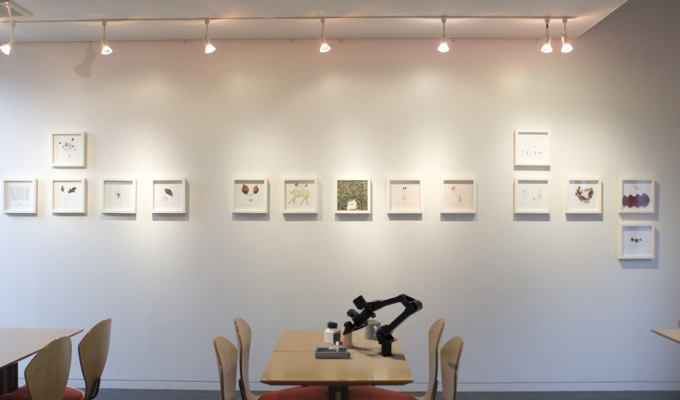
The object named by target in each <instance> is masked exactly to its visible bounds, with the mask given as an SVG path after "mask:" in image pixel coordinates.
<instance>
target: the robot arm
mask: <svg viewBox="0 0 680 400" xmlns="http://www.w3.org/2000/svg"><path fill="white" fill-rule="evenodd" d="M352 303H353V305H354V307H356V309H357V310H358V311H360V312H358V311H357V310H356V309H355V308H351V309H348V310H347V311H346V316H348V317H349V318H351V321H350V320H348V321H345V322H344V324H343V323H342V324H343V325H344V326H345V330H344V332H343V335H346V334H349V333H352V334H353V333H354V332H356V331H360V330H361V329H365V327H366V326H367V325H368V320H370V318H371V319H374V318H377V314H376V312H377V311H379V310H382V309H383V308H384V307H387V306H390V305H391V306H392V305H394V304H397V303H400V304H401V305H403V307H404V310H403V311H402V312H401V313H400V314H399V315H397V317H395V318H394V319H393V320H392V321H391V322H390V323H389V324H384V325H381V327H380V329H378V330H377V332H376V337H377V339H378V340H377V342H378V345H380V351H379V352H378V354H379V355H381V356H382V357H385V358H386V357H393V356H395V354H394V353H393V349H392V348H393V347H392V346H393V343H394V342H395V337H394V336H393V333H394V331H395V330H397V328H398V327H400V326H401V325H402V324H403V323H404V322H405V321H406V320H407V319H409V318H410V317H411V316H412V315H414V314H417V313H419V312H420V311H422V310H423V303H422V301H421V300H420V299H416V298H414V297H413V296H412V297H411V296H409V295H408V294H406V293H401V294H398V295H395V296H392V297H388V298H385V299H375V300H374V299H373V300H371V301H367V300H366V299H365V297H364V296H363V295H362V294H359V296H357V297H356V298H354V299H353V300H352Z"/></svg>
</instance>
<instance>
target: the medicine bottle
mask: <svg viewBox="0 0 680 400" xmlns="http://www.w3.org/2000/svg"><path fill="white" fill-rule="evenodd" d="M326 326H327V329H325V330H324V332H323V333H324V335H323V336H324V338H323V340H324V341H323V342H324V344H325V343H327V344H330V345H336V342H338V343H341V342H342V341H341V339H342V337H341V335H342V334H341V331H342V330H341V329H338V327H339V326H338V322H337V321H333V320H332V321H328V322H327V324H326Z"/></svg>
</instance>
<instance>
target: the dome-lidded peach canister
mask: <svg viewBox="0 0 680 400" xmlns="http://www.w3.org/2000/svg"><path fill="white" fill-rule="evenodd" d="M344 323H345V322H344ZM344 323H342V325H341V326H342V330H341V331H342V334H341V335H342V337H341V339H342V341H341V342H342V346H341V347H347V349H351V348H353V332H352V333H349V334H346V335H343V332H344V330H345V326H344V325H343V324H344Z"/></svg>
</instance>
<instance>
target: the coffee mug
mask: <svg viewBox="0 0 680 400" xmlns="http://www.w3.org/2000/svg"><path fill="white" fill-rule="evenodd" d="M381 326H382V321H381V320H379V319H368V325H367V326H366V327H364V339H366V340H367V341H368V340H370V341H376V340H377V341H378V339H377V337H376V332H377V330H378V329H380V327H381Z"/></svg>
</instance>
